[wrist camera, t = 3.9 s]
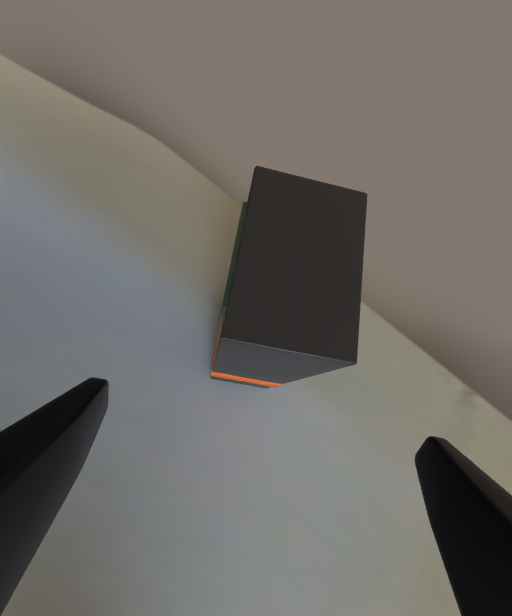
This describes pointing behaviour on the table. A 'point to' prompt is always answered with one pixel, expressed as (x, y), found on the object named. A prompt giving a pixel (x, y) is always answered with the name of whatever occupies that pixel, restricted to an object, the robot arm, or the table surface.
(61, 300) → the table surface
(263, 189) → the laser measure
